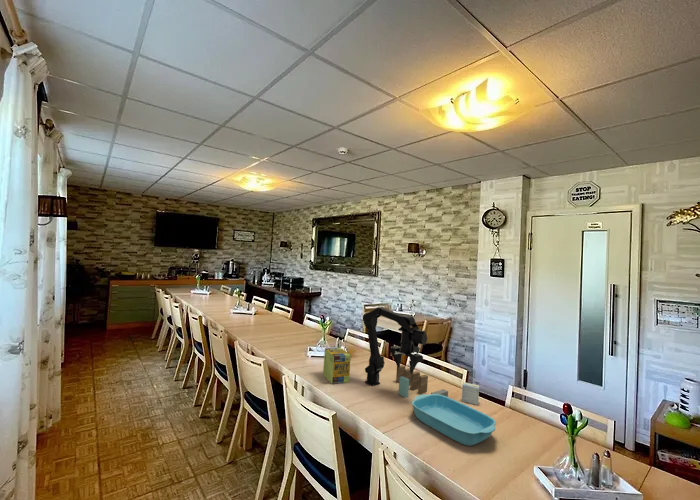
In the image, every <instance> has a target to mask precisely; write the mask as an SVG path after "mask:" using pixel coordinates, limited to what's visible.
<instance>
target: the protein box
mask: <svg viewBox="0 0 700 500" xmlns="http://www.w3.org/2000/svg"><path fill="white" fill-rule="evenodd" d="M351 358H352V356H351V354H350V353H348V352H347V351H346V350H344V349H343V348H342V347H325V348H324V355H323V369H322V375H323V376H324V378H326V380H328V382H329V383H330V384H331V385H337V384H338V385H339V384H347V383H350V375H351V373H350V372H351V371H350V370H351Z"/></svg>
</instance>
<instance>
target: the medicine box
mask: <svg viewBox="0 0 700 500" xmlns="http://www.w3.org/2000/svg"><path fill="white" fill-rule="evenodd" d="M461 386H462V389H461V391H462V392H461V403H467V404H471V405H476V406H479V400H480V399H479V398H480V397H479V395H480V385H479V384H474V383H469V382H465V381H464V382H463V383H462V385H461Z"/></svg>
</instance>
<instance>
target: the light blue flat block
mask: <svg viewBox="0 0 700 500" xmlns="http://www.w3.org/2000/svg"><path fill="white" fill-rule="evenodd" d="M409 390H410V386H409V379H407V378H405V377H403V376H401V377H400V378H399V383H398V395H400V396H402V397H403V398H409V392H410V391H409Z"/></svg>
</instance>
